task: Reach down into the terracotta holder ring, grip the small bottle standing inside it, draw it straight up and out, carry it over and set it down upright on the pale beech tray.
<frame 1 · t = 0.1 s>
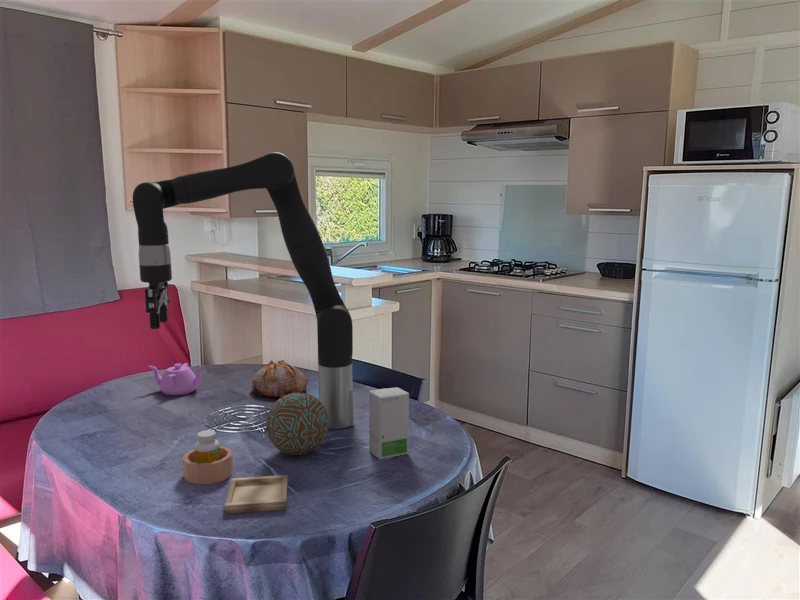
hand: (159, 325, 162), 29 cm above the table, fingers open, 8 cm apart
supplement bottle: (208, 474, 143), resting in holder ring
decorative sphere: (298, 453, 154), on the table
bread: (279, 391, 202), on the table
tray: (258, 497, 132), on the table
holder ring: (208, 473, 143), on the table
skincare box: (388, 453, 154), on the table
teapot: (178, 391, 201), on the table
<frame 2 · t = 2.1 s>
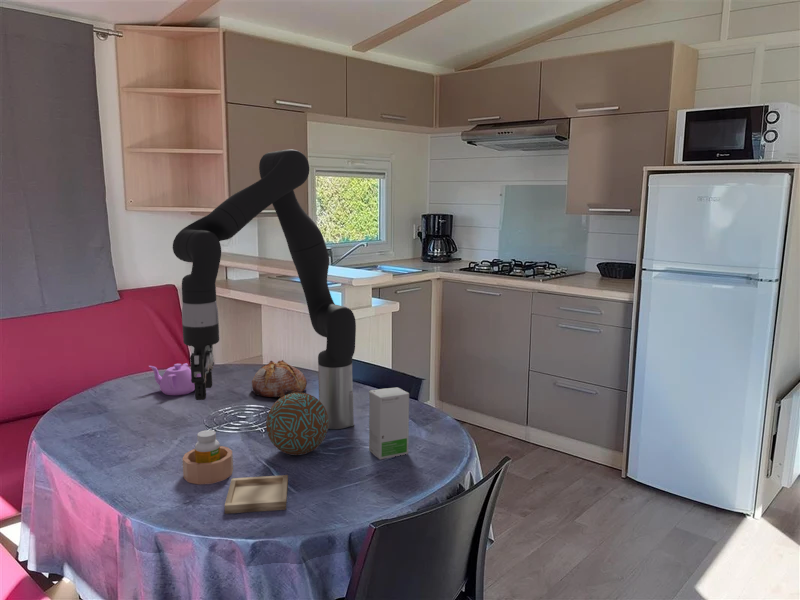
hand: (204, 393, 139), 19 cm above the table, fingers open, 8 cm apart
nothing on the table moved.
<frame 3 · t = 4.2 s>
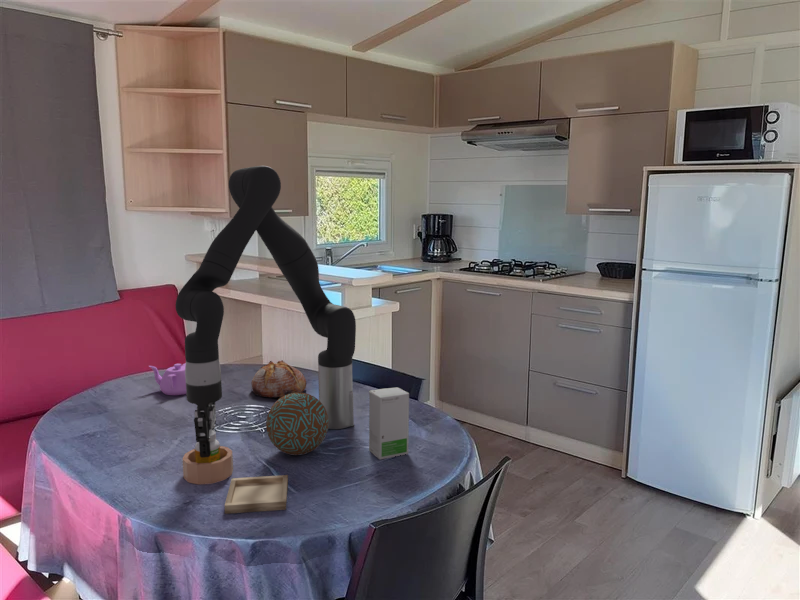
hand: (207, 450, 142), 5 cm above the table, fingers closed on supplement bottle, 5 cm apart
supplement bottle: (208, 474, 143), resting in holder ring, touching gripper
everything else where it was.
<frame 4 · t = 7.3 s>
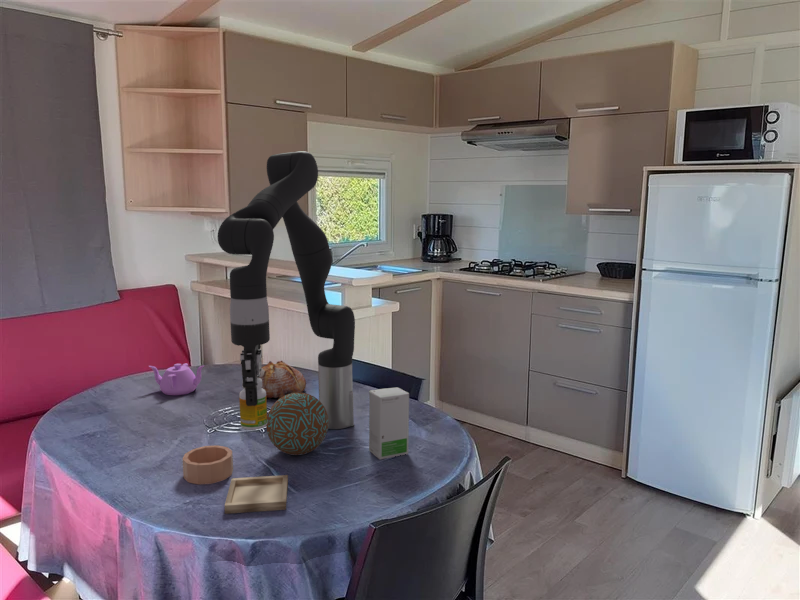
hand: (253, 400, 128), 21 cm above the table, fingers closed on supplement bottle, 5 cm apart
supplement bottle: (254, 426, 129), point 16 cm above the table, touching gripper
everything else where it was.
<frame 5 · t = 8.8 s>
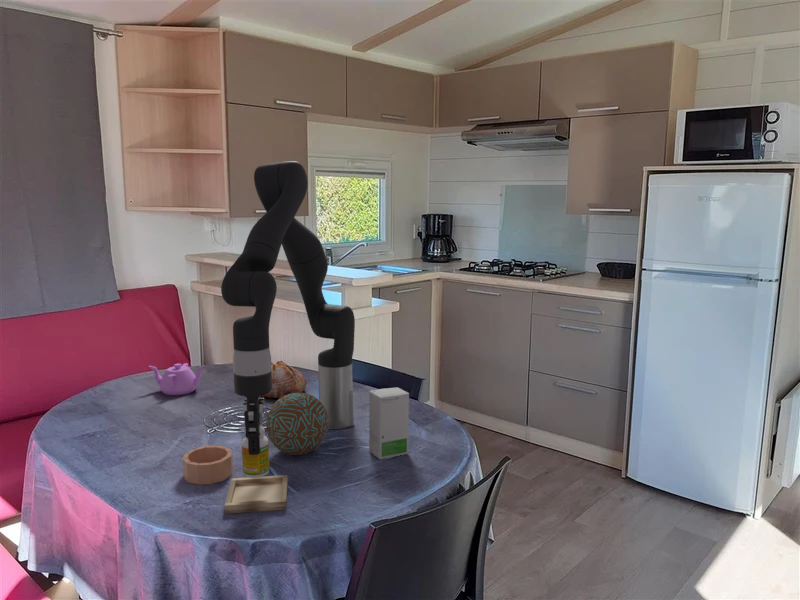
hand: (255, 447, 130), 11 cm above the table, fingers closed on supplement bottle, 5 cm apart
supplement bottle: (256, 473, 131), point 5 cm above the table, touching gripper
everything else where it was.
when the fingers open (7 cm above the table, at t = 10.3 s): supplement bottle drops 1 cm, resting on tray.
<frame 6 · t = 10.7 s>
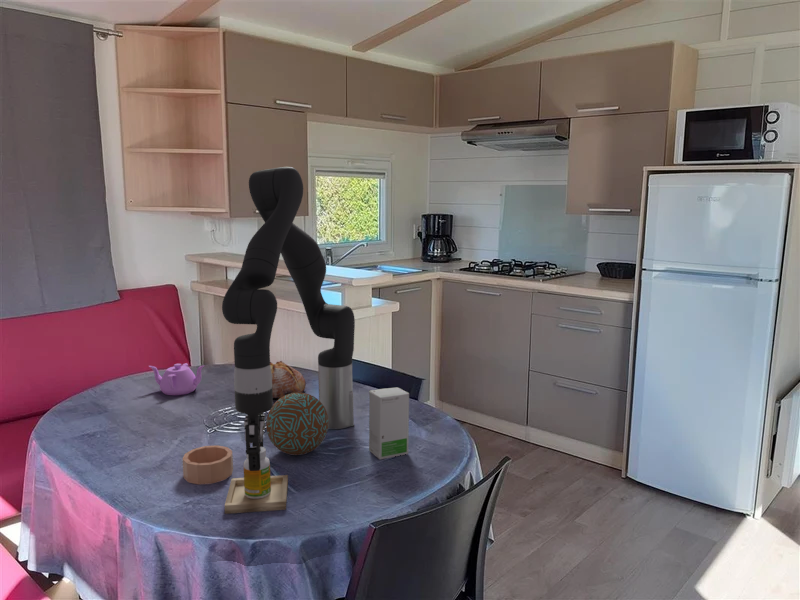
hand: (256, 461, 130), 8 cm above the table, fingers open, 8 cm apart
supplement bottle: (257, 494, 132), point 1 cm above the table, touching tray
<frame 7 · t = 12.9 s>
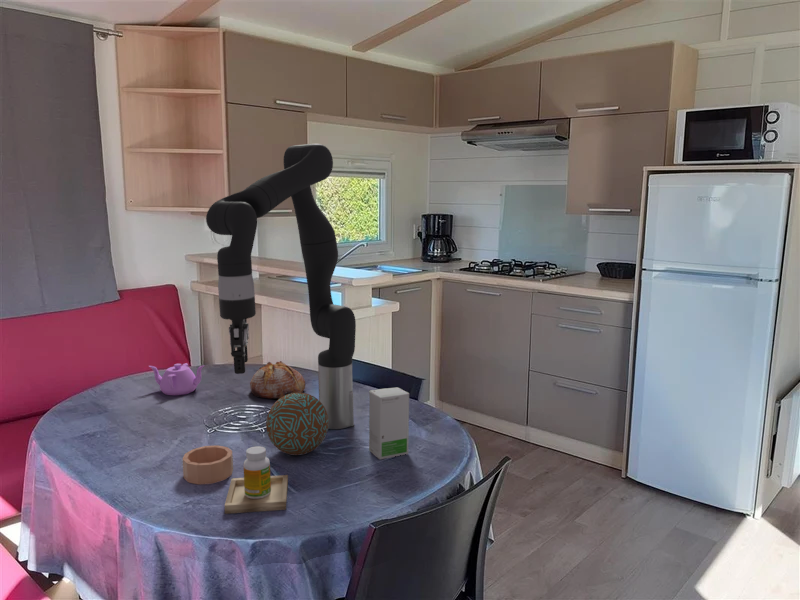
hand: (241, 367, 138), 25 cm above the table, fingers open, 8 cm apart
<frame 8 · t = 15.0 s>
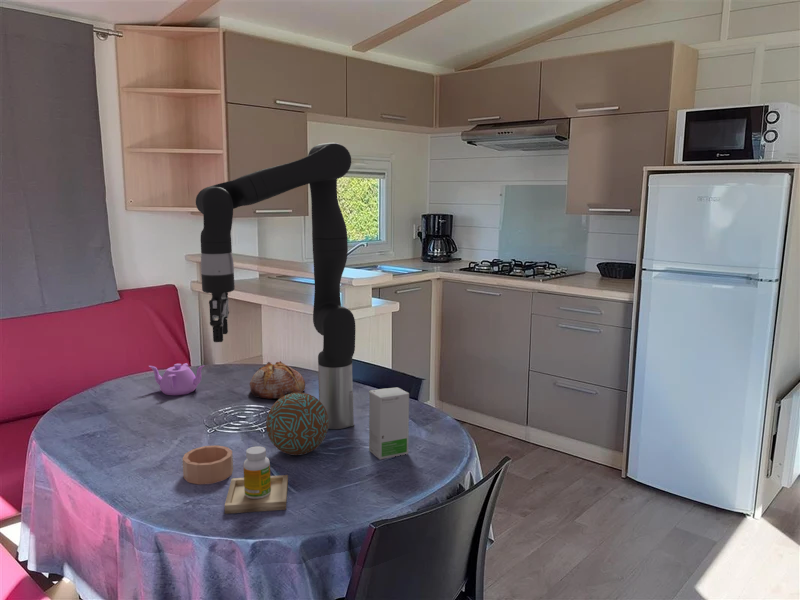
hand: (220, 337, 153), 28 cm above the table, fingers open, 8 cm apart
at the end: supplement bottle inside the target area on the tray (0.1 cm from its centre), point 0.6 cm above the tray's base; supplement bottle tilted 0°; the gripper is holding nothing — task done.
